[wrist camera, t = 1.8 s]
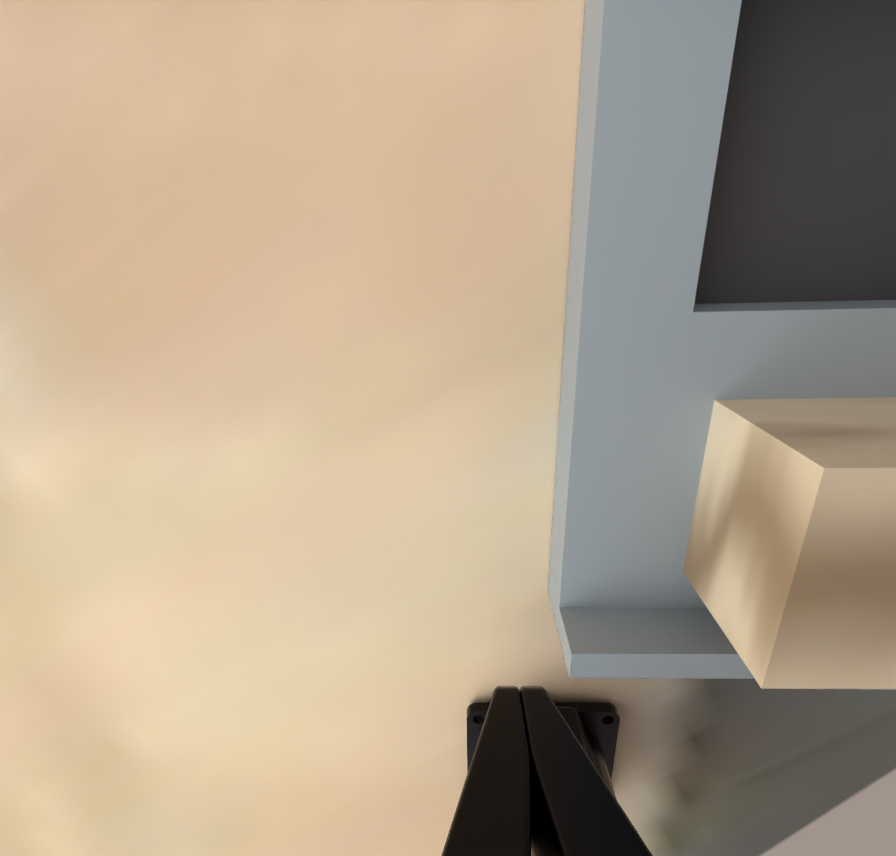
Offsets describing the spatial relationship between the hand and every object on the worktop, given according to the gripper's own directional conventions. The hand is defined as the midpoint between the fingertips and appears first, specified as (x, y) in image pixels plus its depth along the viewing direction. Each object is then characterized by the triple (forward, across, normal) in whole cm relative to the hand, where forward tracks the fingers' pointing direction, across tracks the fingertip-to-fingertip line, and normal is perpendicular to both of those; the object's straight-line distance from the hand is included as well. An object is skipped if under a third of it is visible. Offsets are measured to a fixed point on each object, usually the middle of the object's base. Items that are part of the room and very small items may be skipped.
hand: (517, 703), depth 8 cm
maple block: (+7, -9, 0) cm, 12 cm away
